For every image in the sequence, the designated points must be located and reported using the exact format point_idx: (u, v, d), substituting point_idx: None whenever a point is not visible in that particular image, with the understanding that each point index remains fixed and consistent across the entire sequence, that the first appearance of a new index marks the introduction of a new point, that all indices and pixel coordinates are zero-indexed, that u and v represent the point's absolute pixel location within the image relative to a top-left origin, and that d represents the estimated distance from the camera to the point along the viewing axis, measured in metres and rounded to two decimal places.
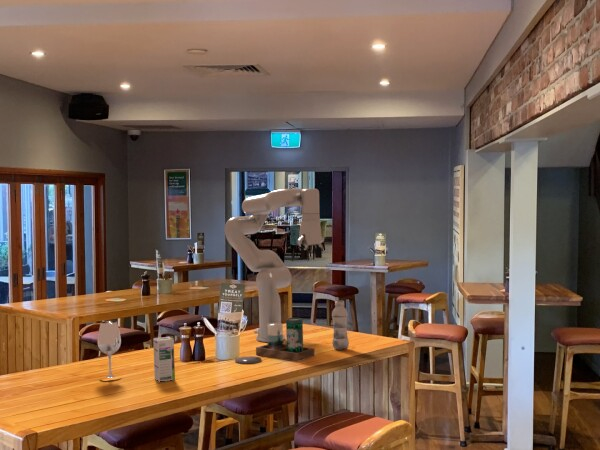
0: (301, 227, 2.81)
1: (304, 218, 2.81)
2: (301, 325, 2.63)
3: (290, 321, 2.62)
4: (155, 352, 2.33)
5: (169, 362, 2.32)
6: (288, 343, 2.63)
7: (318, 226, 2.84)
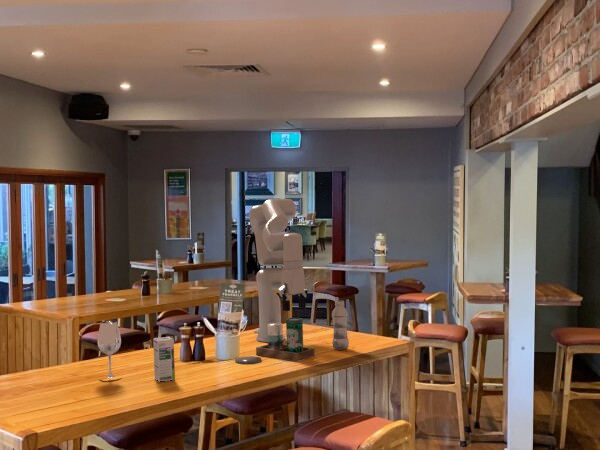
0: (283, 276, 2.61)
1: (286, 266, 2.61)
2: (301, 325, 2.63)
3: (290, 321, 2.62)
4: (155, 352, 2.33)
5: (169, 362, 2.32)
6: (288, 343, 2.63)
7: (301, 274, 2.64)
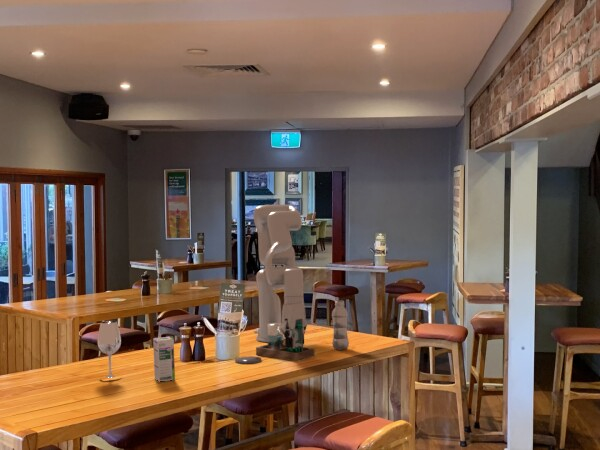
0: (283, 311, 2.61)
1: (287, 301, 2.62)
2: (301, 325, 2.63)
3: None
4: (155, 352, 2.33)
5: (169, 362, 2.32)
6: None
7: (302, 308, 2.65)
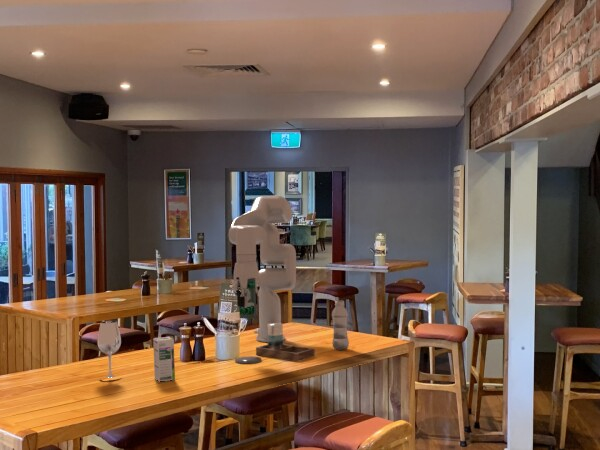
0: (235, 269, 2.56)
1: (238, 259, 2.56)
2: (254, 284, 2.58)
3: None
4: (155, 352, 2.33)
5: (169, 362, 2.32)
6: None
7: (255, 268, 2.59)
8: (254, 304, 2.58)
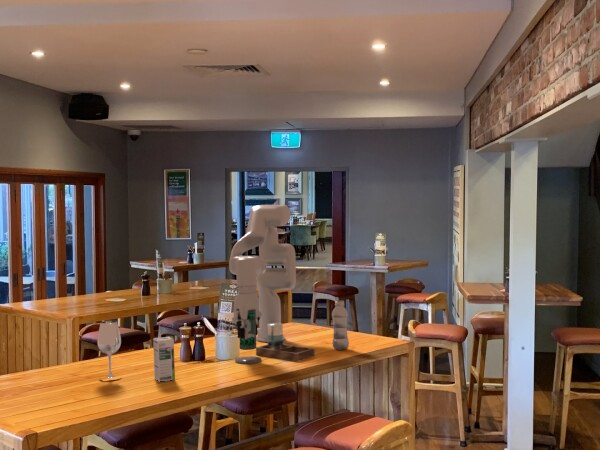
0: (235, 301, 2.56)
1: (239, 291, 2.57)
2: (254, 315, 2.58)
3: None
4: (155, 352, 2.33)
5: (169, 362, 2.32)
6: None
7: (255, 299, 2.60)
8: (254, 335, 2.58)
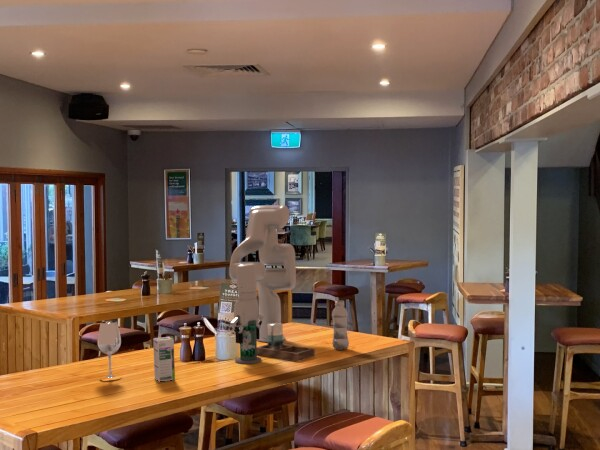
0: (236, 307, 2.56)
1: (239, 297, 2.57)
2: (254, 327, 2.59)
3: None
4: (155, 352, 2.33)
5: (169, 362, 2.32)
6: (241, 345, 2.58)
7: (255, 305, 2.60)
8: (255, 346, 2.59)
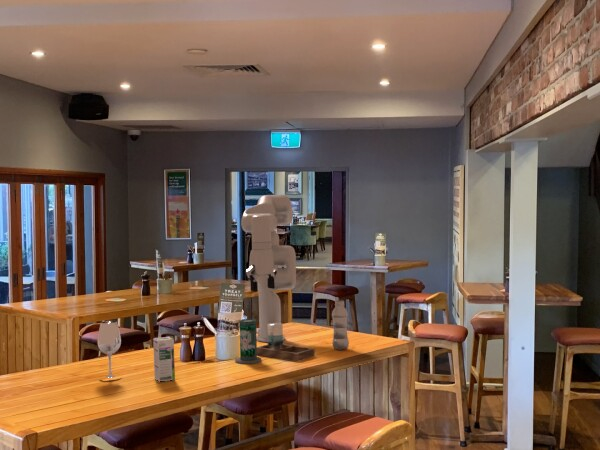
0: (251, 257, 2.62)
1: (254, 247, 2.62)
2: (254, 326, 2.59)
3: (243, 322, 2.57)
4: (155, 352, 2.33)
5: (169, 362, 2.32)
6: (241, 345, 2.58)
7: (270, 255, 2.65)
8: (255, 346, 2.59)
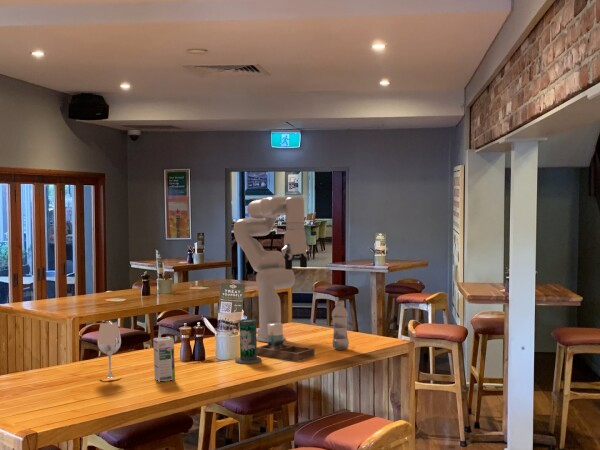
0: (285, 236, 2.76)
1: (288, 227, 2.77)
2: (254, 327, 2.59)
3: (243, 322, 2.57)
4: (155, 352, 2.33)
5: (169, 362, 2.32)
6: (241, 345, 2.58)
7: (303, 235, 2.80)
8: (255, 346, 2.59)
